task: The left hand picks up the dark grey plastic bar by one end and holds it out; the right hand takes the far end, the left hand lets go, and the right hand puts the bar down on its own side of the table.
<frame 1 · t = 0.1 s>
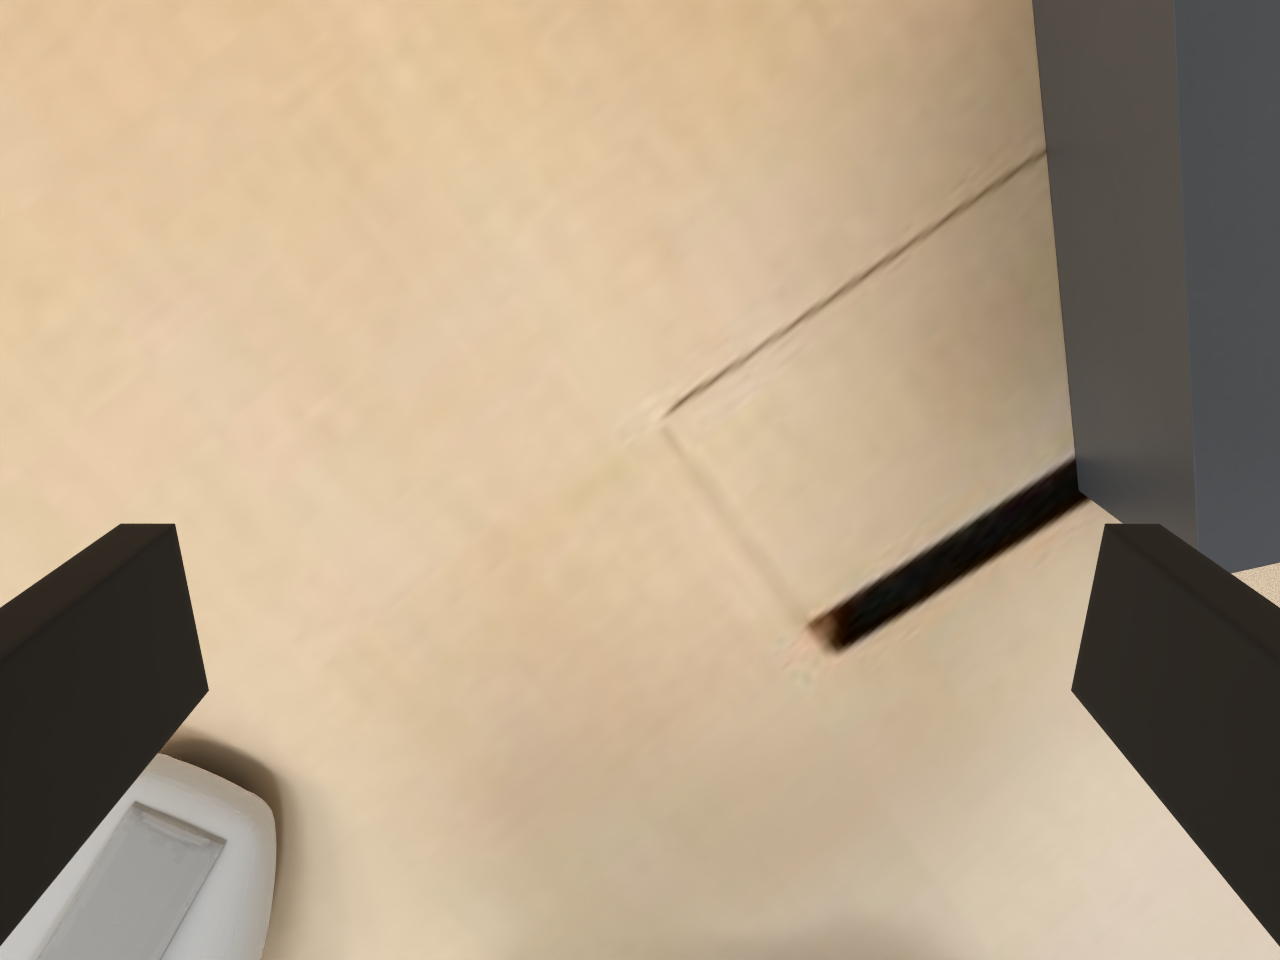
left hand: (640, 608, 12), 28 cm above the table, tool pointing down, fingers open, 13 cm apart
projector: (147, 893, 50), on the table
bar: (1113, 227, 37), on the table
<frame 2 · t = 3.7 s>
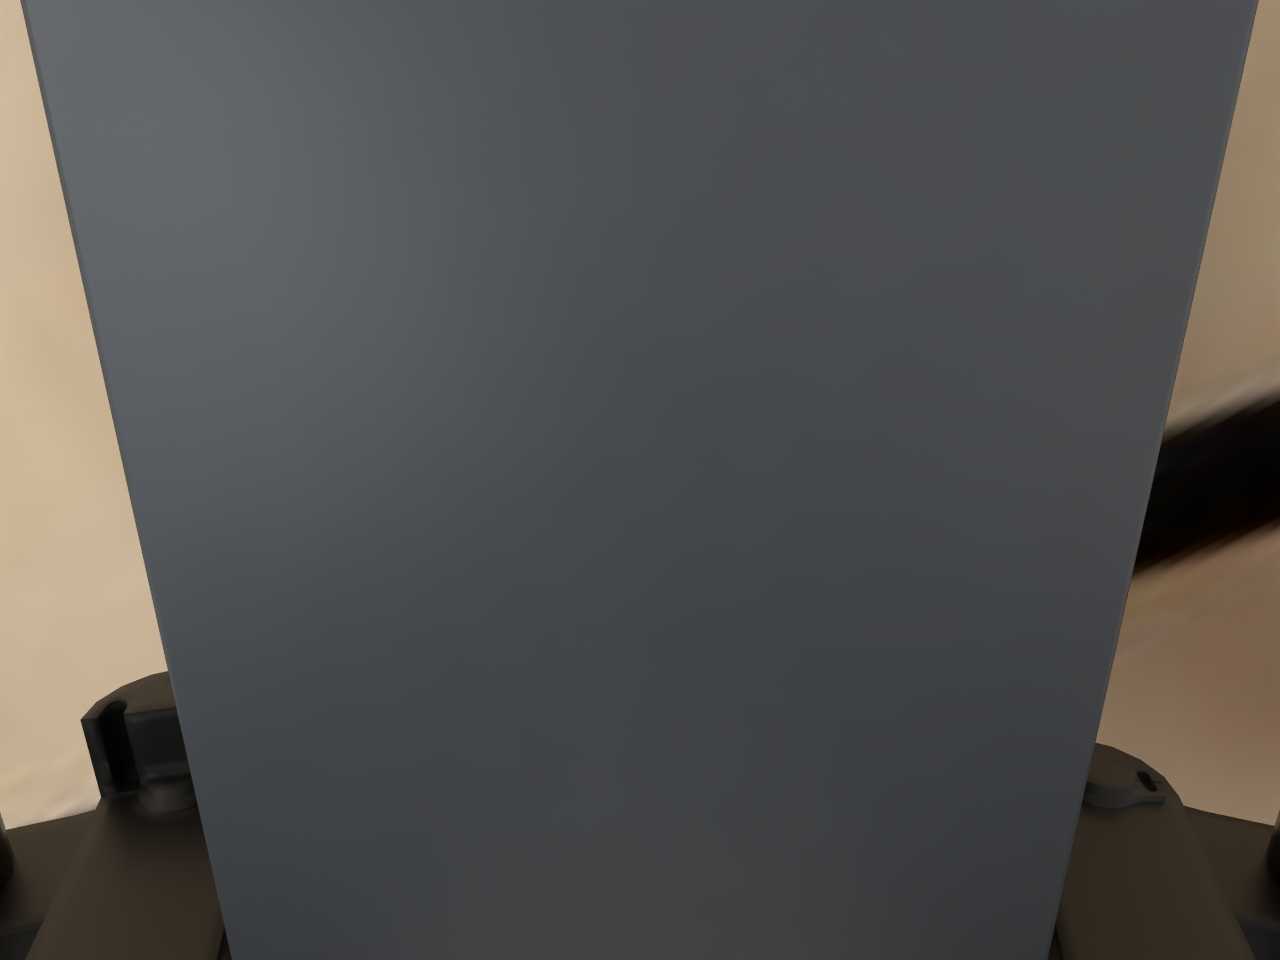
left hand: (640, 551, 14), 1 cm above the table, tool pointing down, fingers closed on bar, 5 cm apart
bar: (639, 38, 12), on the table, touching left hand
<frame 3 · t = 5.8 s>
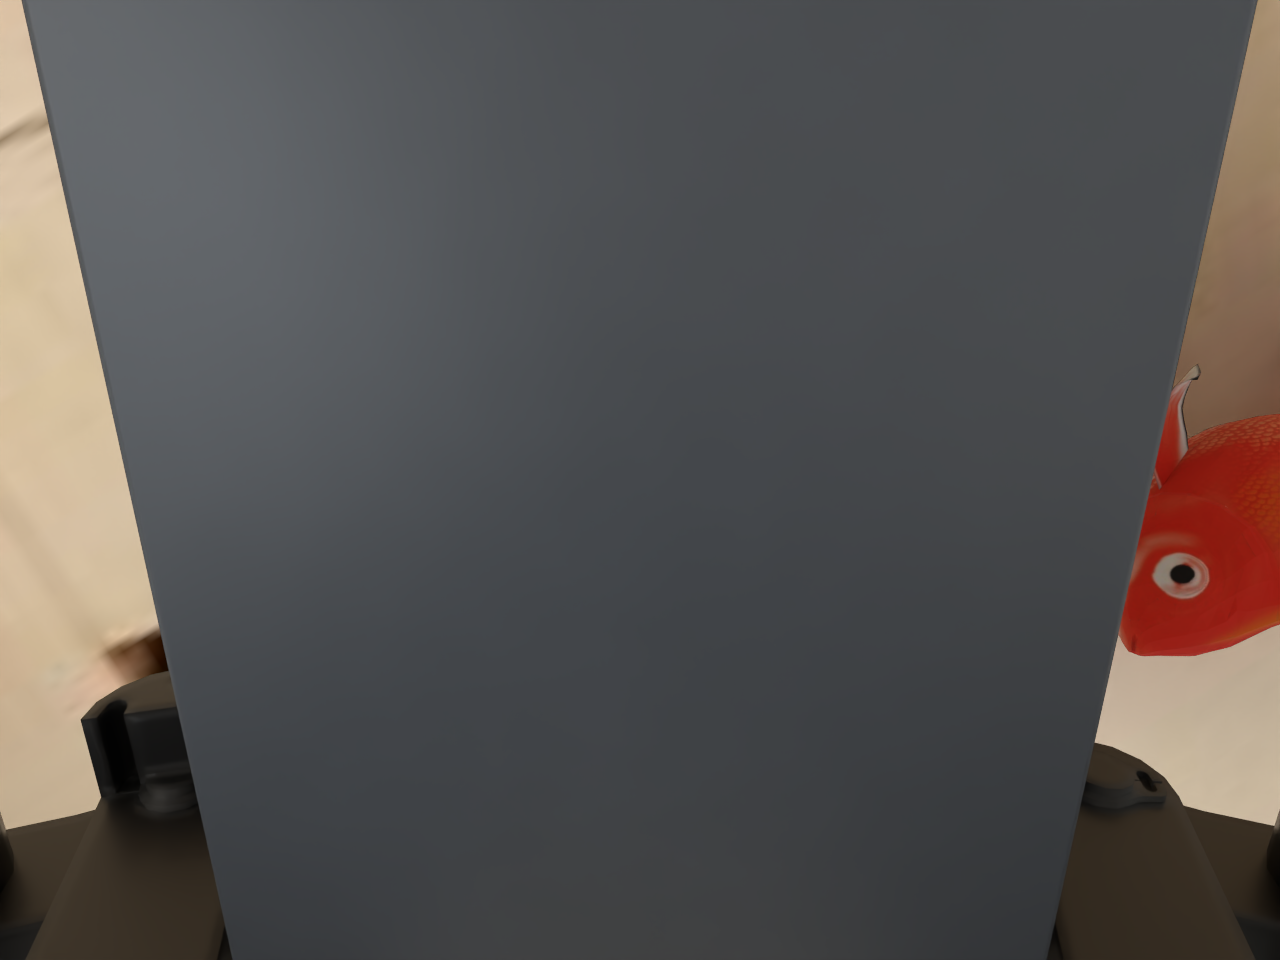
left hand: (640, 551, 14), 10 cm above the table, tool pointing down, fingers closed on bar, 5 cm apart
bar: (639, 37, 12), point 9 cm above the table, touching left hand
fish: (1279, 381, 24), on the table
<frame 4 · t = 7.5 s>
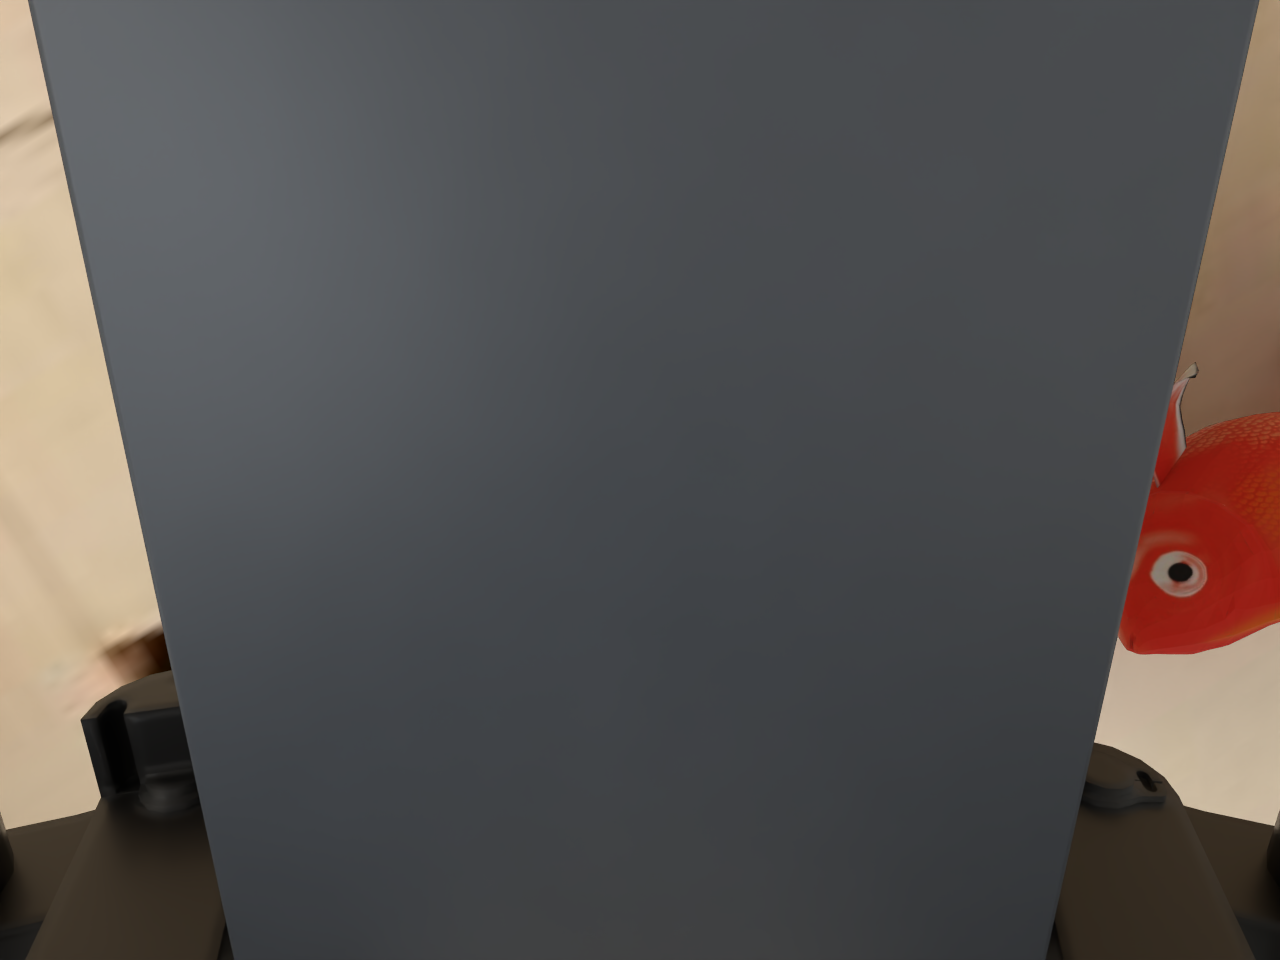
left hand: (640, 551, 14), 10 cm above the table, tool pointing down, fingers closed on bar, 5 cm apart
bar: (641, 37, 12), point 9 cm above the table, touching left hand, right hand
fish: (1277, 379, 24), on the table
when the left hand's fingers open (10 cm above the table, at t = 8.4 s): bar stays where it is, held by the right hand.
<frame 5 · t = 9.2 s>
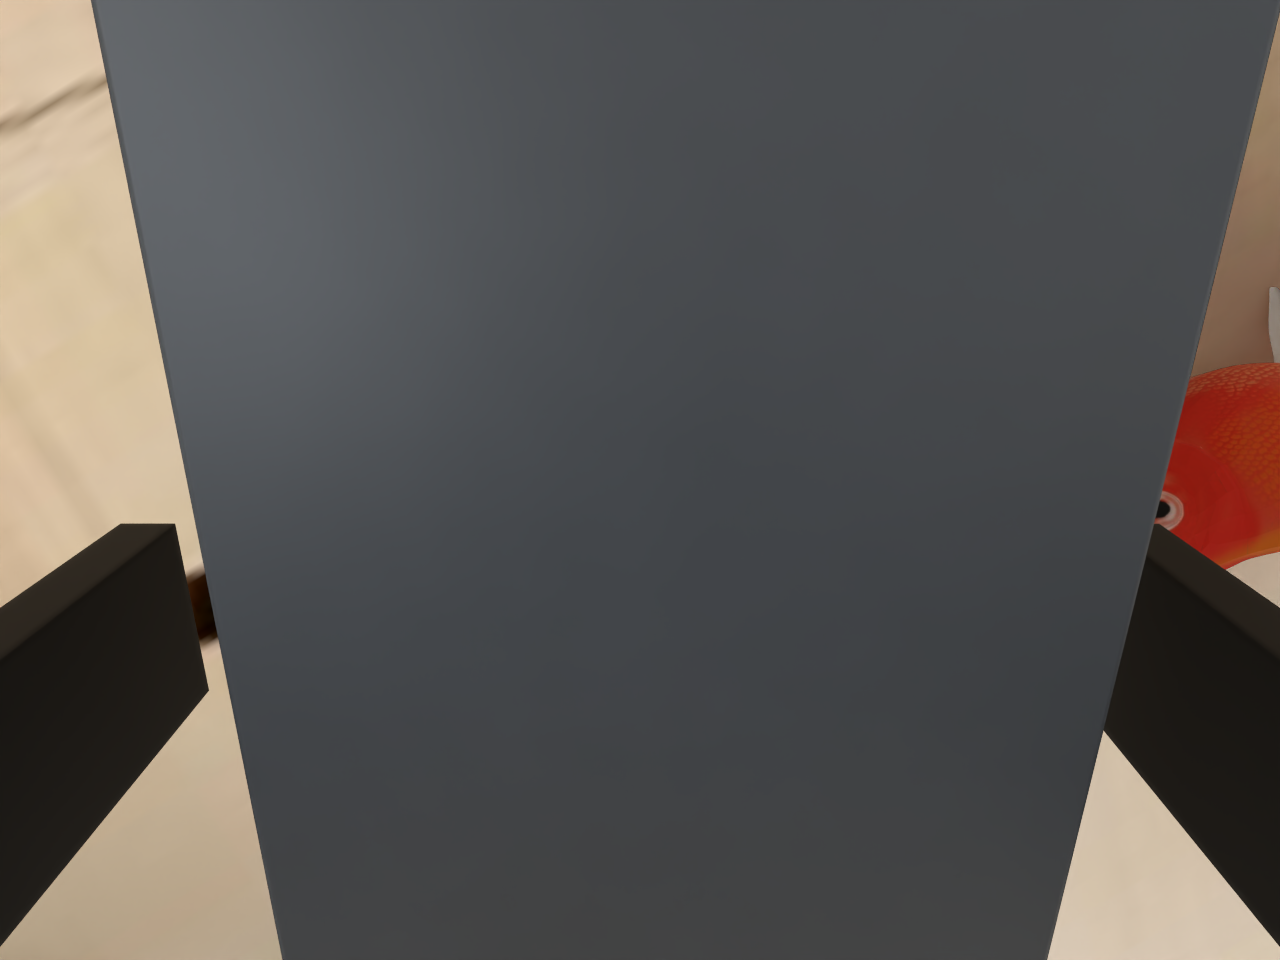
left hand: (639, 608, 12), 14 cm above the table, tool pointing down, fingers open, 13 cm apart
fish: (1260, 339, 25), on the table
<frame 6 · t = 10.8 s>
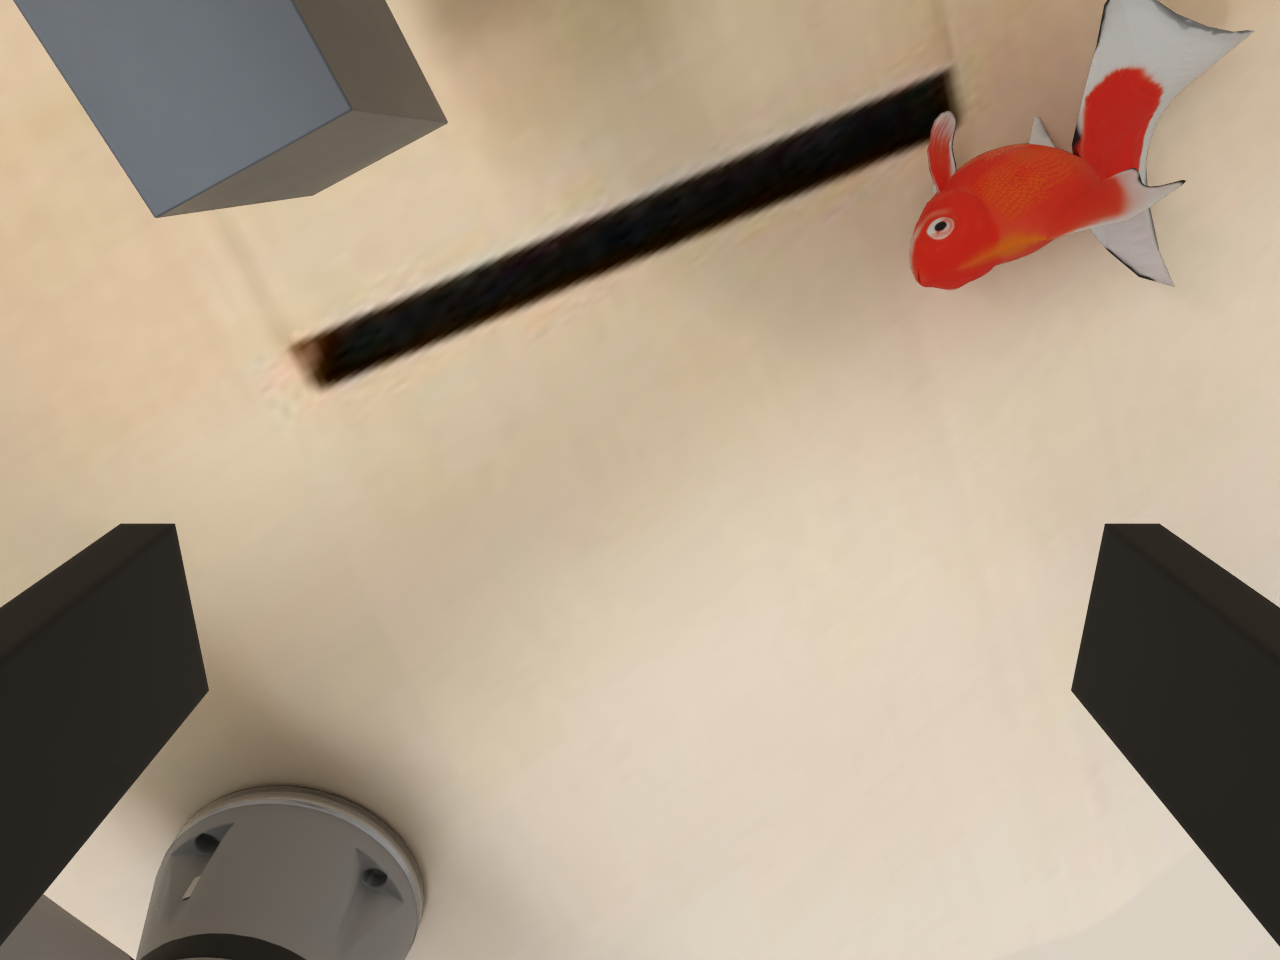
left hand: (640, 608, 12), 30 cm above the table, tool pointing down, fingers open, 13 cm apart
fish: (1033, 154, 38), on the table
when the right hand's fingers open (5 cm above the table, at t = 14.5 s): bar stays where it is, on the table.
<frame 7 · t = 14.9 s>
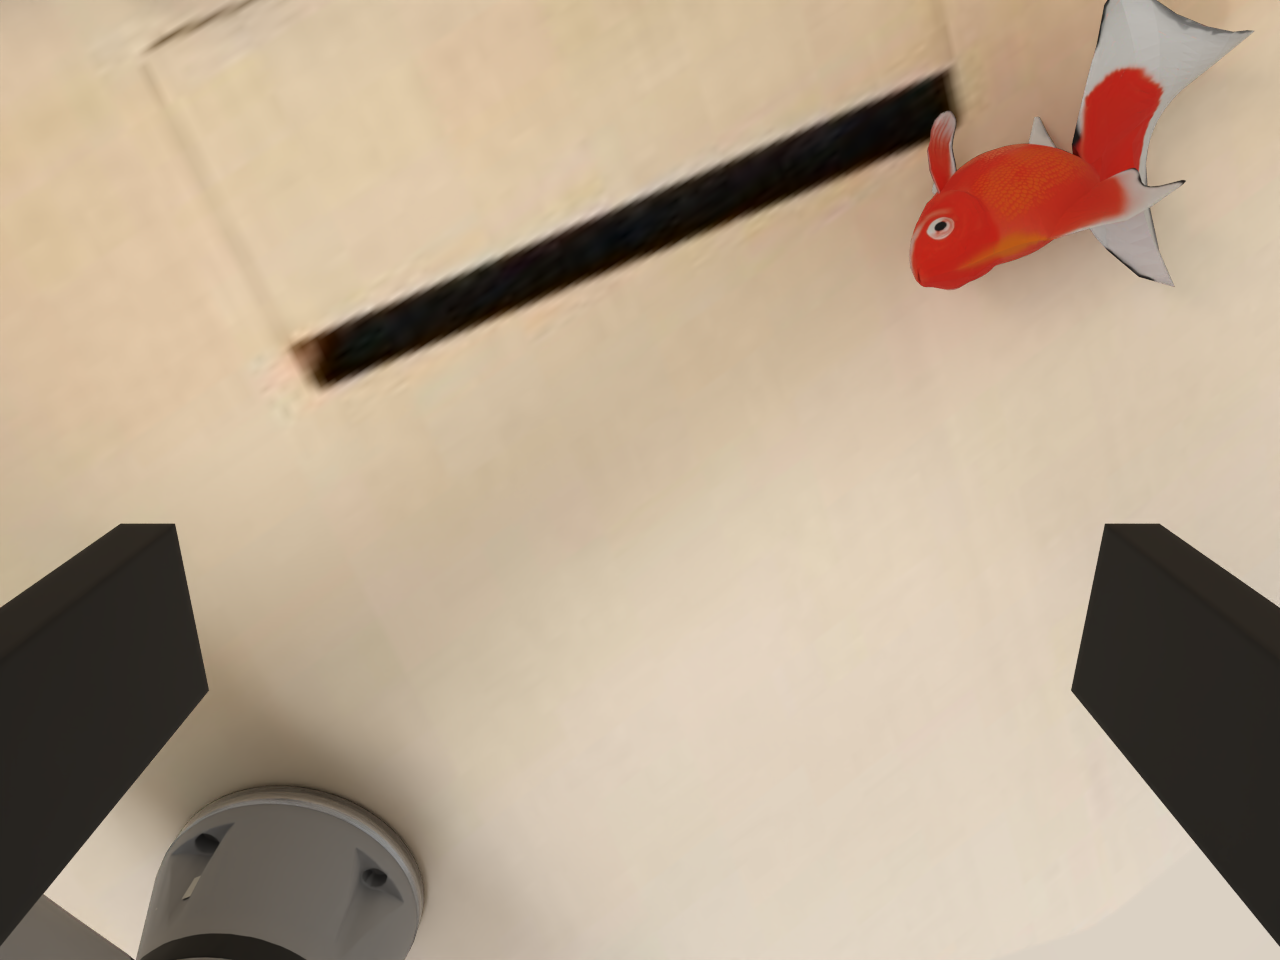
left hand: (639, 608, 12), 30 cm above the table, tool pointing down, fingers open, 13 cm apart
fish: (1033, 154, 38), on the table
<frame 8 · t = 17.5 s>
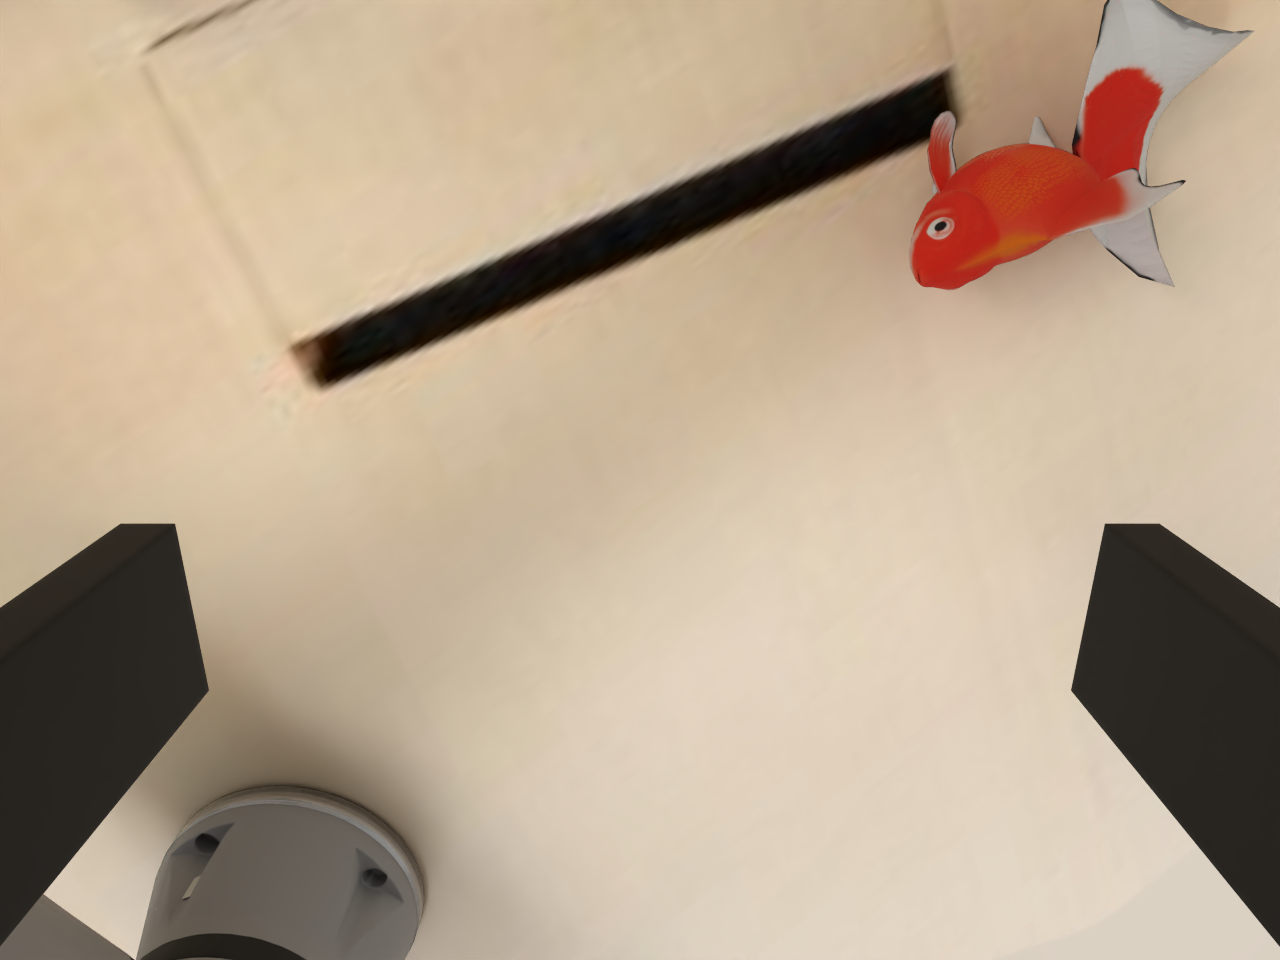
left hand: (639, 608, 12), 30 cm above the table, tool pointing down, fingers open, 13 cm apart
fish: (1033, 154, 38), on the table
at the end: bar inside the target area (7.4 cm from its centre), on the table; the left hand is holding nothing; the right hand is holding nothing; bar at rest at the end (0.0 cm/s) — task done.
